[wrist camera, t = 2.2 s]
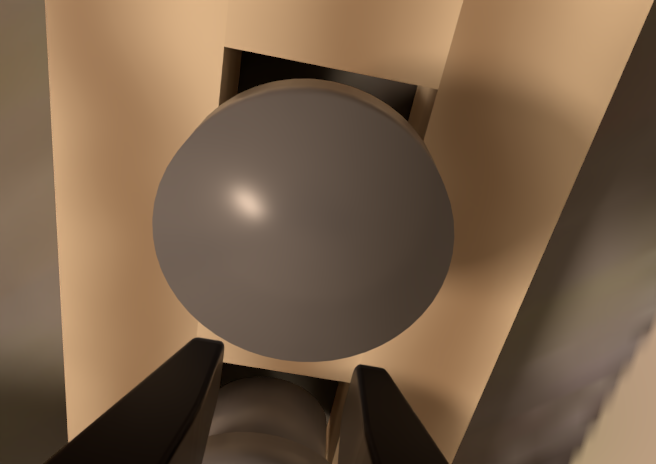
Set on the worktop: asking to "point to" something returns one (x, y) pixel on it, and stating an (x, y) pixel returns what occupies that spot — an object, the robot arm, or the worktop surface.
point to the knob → (304, 222)
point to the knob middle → (266, 424)
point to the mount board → (425, 117)
